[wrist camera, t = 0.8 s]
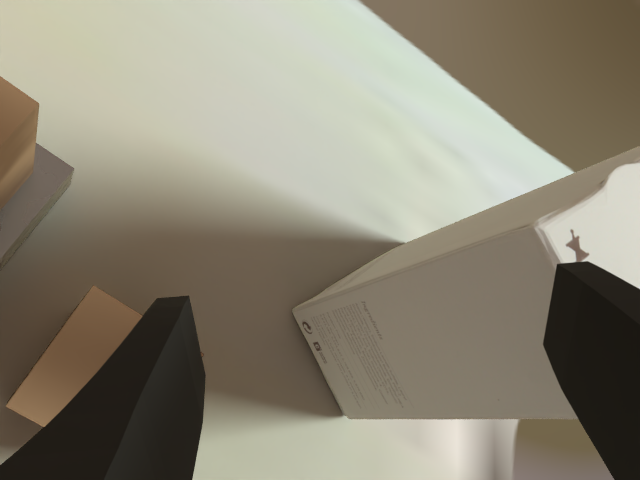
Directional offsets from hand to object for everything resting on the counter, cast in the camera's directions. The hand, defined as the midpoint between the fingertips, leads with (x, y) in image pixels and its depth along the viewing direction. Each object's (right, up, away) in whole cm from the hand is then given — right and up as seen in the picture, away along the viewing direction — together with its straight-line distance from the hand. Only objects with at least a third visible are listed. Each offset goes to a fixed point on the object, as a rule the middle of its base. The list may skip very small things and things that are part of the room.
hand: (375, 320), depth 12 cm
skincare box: (+2, -2, +18) cm, 18 cm away
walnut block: (-10, -4, +11) cm, 15 cm away
